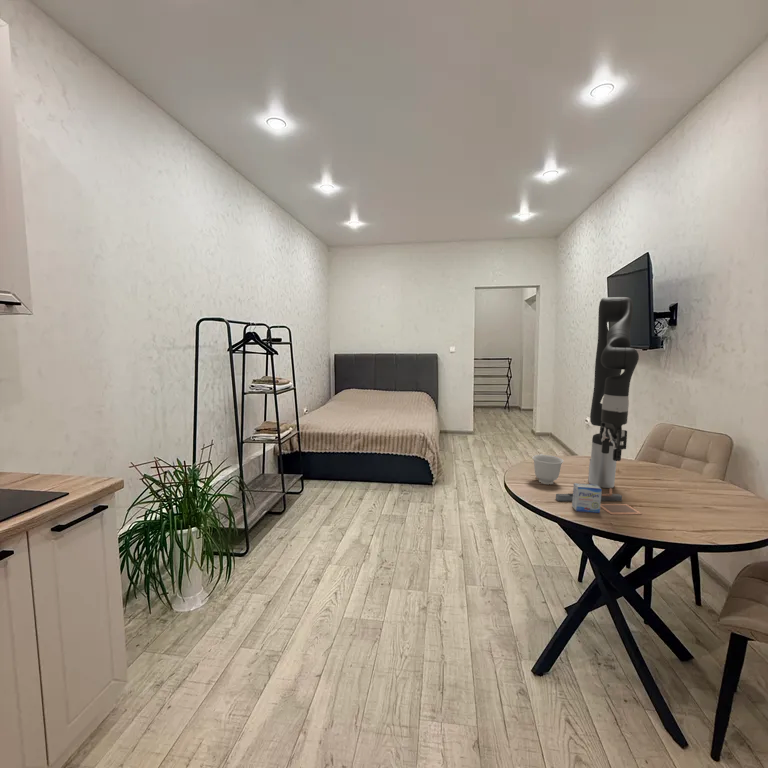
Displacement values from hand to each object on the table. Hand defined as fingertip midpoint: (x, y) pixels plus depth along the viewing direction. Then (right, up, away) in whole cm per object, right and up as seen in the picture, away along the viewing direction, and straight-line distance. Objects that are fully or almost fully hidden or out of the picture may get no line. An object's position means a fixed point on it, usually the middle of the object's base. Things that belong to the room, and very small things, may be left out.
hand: (610, 456), depth 137 cm
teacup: (-8, -16, +34) cm, 39 cm away
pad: (+6, -20, +7) cm, 22 cm away
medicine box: (-5, -20, +6) cm, 21 cm away
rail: (0, -19, +15) cm, 24 cm away
